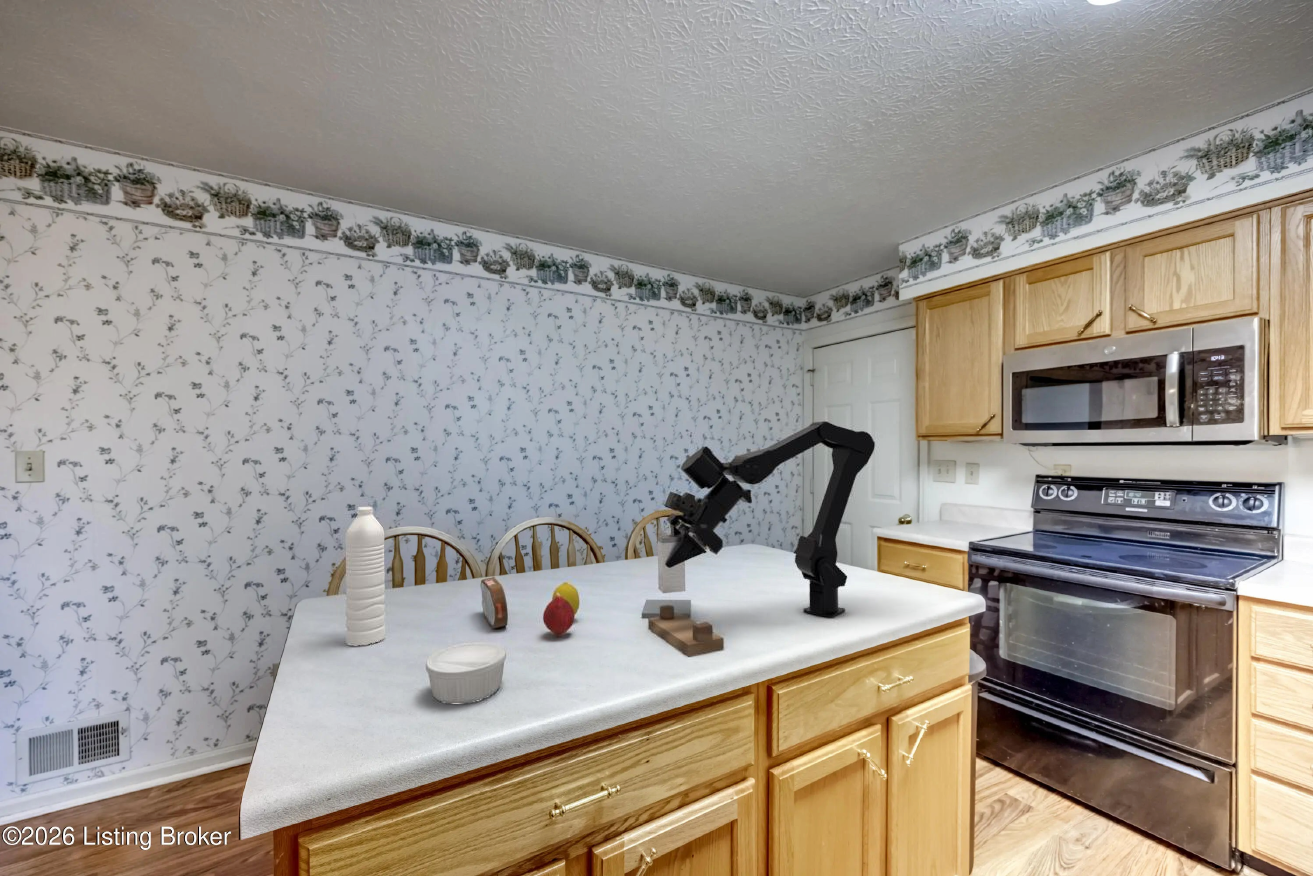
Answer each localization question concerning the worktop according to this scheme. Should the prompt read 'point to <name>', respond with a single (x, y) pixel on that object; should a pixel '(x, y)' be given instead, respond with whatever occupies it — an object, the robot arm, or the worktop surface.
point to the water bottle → (365, 579)
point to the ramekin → (466, 671)
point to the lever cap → (675, 575)
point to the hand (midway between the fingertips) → (664, 564)
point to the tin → (494, 602)
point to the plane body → (685, 632)
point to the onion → (558, 615)
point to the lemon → (568, 595)
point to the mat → (653, 606)
